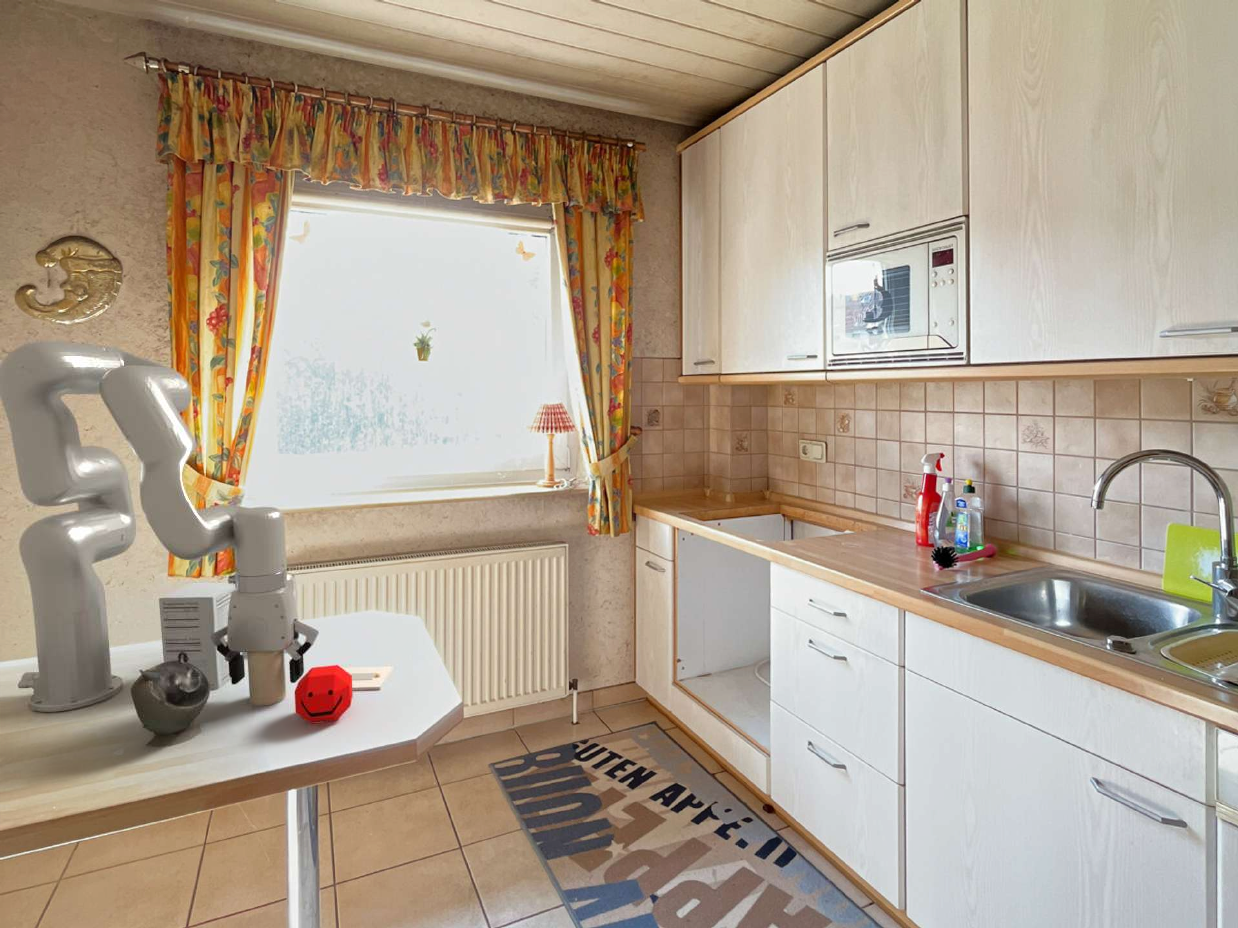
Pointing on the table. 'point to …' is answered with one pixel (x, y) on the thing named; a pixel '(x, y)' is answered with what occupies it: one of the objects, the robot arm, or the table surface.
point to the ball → (323, 694)
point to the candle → (266, 677)
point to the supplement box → (197, 627)
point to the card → (369, 677)
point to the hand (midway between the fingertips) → (267, 680)
